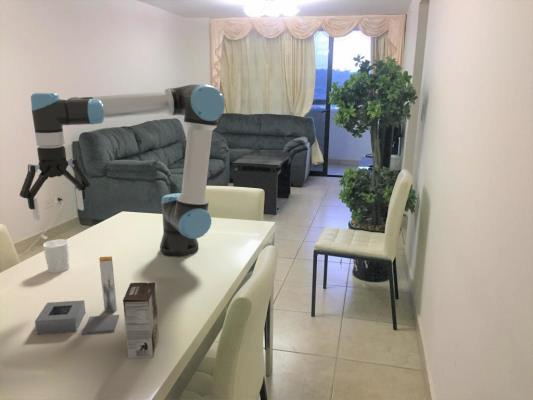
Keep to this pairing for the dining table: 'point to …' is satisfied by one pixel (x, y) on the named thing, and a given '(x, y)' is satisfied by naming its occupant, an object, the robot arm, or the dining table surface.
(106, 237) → the dining table surface
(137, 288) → the coffee box
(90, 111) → the robot arm
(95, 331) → the mat
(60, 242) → the white cup
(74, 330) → the block
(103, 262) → the grey long rod
